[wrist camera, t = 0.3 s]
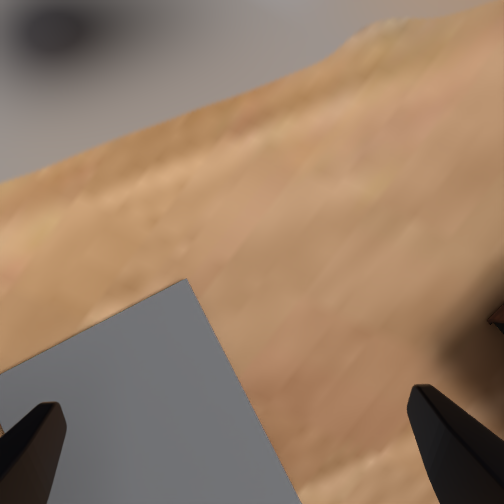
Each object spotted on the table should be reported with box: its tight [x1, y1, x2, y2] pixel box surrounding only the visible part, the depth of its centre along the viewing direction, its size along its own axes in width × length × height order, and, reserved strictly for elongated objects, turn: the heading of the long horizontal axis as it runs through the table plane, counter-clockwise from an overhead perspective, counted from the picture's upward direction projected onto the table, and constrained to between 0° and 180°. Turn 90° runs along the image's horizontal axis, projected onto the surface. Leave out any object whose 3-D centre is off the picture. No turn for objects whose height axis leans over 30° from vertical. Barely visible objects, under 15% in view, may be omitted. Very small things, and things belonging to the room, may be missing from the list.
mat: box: [0, 279, 302, 504], centre depth 23 cm, size 18×14×1 cm
